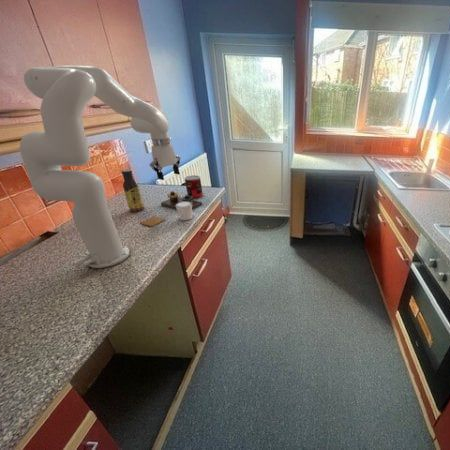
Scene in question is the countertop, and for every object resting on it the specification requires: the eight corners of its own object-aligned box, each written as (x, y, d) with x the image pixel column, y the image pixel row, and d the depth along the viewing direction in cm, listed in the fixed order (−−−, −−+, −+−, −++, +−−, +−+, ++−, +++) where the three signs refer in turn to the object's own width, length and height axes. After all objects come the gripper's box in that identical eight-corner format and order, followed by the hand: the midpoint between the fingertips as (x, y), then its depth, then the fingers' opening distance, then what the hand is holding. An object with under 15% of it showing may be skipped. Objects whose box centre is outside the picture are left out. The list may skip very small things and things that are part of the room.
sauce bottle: (137, 212, 121) (125, 173, 112) (126, 211, 122) (113, 171, 113) (147, 207, 127) (136, 169, 118) (137, 206, 128) (125, 168, 119)
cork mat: (151, 226, 110) (151, 225, 110) (140, 223, 112) (140, 222, 112) (164, 220, 115) (164, 219, 115) (153, 217, 118) (153, 216, 118)
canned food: (187, 194, 144) (184, 176, 139) (202, 192, 147) (199, 174, 142) (188, 199, 138) (184, 180, 133) (203, 197, 141) (200, 178, 136)
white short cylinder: (183, 222, 114) (180, 208, 111) (175, 217, 118) (172, 204, 115) (196, 217, 119) (194, 203, 116) (188, 213, 123) (186, 200, 120)
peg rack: (187, 211, 124) (185, 199, 121) (161, 205, 130) (158, 193, 127) (202, 204, 132) (200, 193, 129) (176, 198, 138) (174, 187, 135)
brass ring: (172, 198, 128) (172, 196, 127) (165, 197, 130) (165, 195, 129) (180, 195, 132) (180, 193, 132) (173, 193, 134) (173, 192, 133)
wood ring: (187, 202, 125) (187, 200, 124) (180, 200, 126) (179, 198, 126) (195, 198, 129) (194, 196, 128) (187, 197, 130) (187, 195, 130)
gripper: (170, 138, 126) (177, 171, 134) (139, 144, 112) (149, 180, 120) (181, 139, 123) (188, 173, 132) (150, 146, 109) (160, 183, 118)
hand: (169, 176), depth 126 cm, fingers open, 9 cm apart
